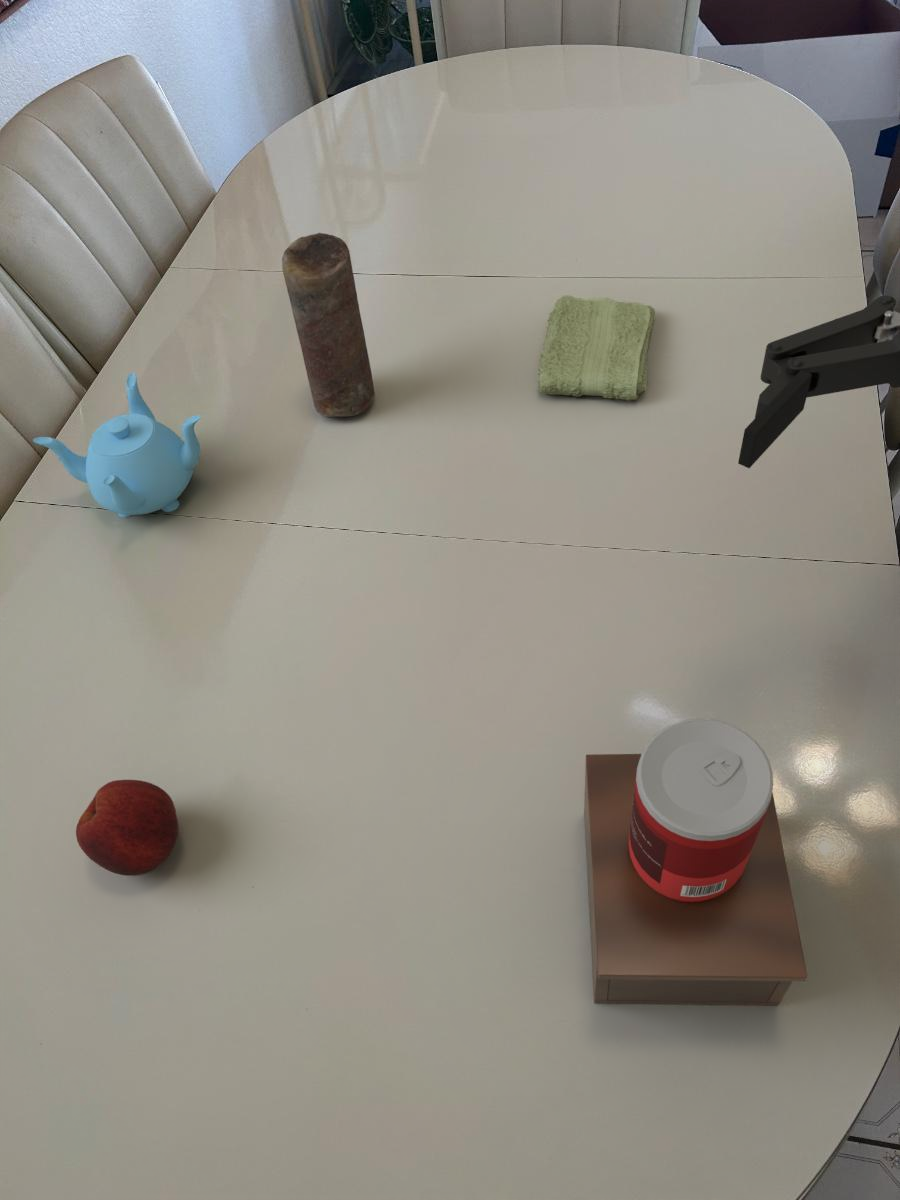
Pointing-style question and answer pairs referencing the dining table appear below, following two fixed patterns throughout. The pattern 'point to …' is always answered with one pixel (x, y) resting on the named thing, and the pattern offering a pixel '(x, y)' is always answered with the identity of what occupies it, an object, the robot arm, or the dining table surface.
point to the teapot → (134, 460)
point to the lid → (685, 929)
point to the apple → (128, 827)
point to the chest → (673, 989)
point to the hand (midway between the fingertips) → (856, 498)
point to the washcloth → (596, 348)
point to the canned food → (698, 808)
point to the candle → (329, 324)
